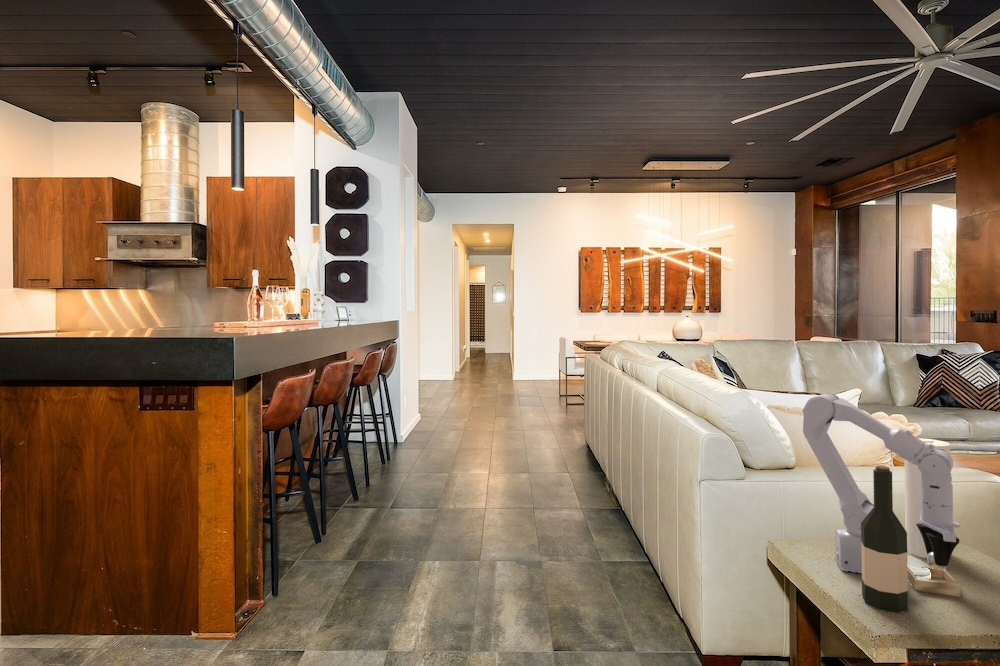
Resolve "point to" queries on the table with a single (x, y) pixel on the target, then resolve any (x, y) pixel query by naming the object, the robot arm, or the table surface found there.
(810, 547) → the table surface
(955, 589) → the tray
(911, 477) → the paper towel roll
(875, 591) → the wine bottle
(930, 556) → the ball
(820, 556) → the table surface
